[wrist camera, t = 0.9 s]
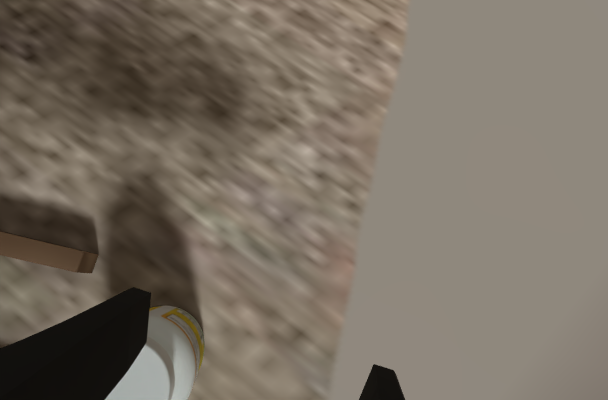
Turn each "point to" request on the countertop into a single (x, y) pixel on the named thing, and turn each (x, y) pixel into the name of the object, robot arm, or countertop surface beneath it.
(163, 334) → the supplement bottle
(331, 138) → the countertop surface
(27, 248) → the wooden holder
